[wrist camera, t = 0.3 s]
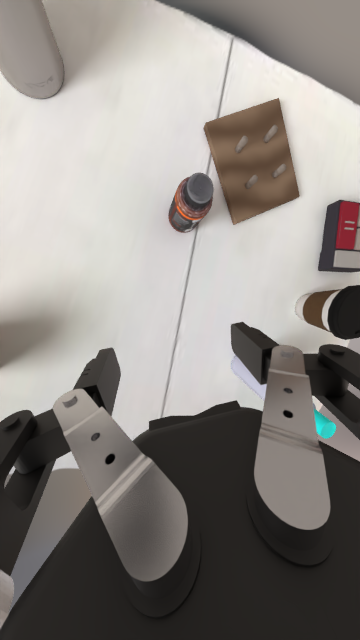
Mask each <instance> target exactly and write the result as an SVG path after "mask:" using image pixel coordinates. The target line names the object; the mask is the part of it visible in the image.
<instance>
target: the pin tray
mask: <svg viewBox="0 0 360 640" xmlns="http://www.w3.org/2000/svg"><path fill="white" fill-rule="evenodd" d="M204 131H205V134H206V137H207V141H208V144H209V147H210V150H211V154H212V157H213V160H214V163H215V166H216V170H217V173H218V176H219V179H220V183H221V186H222V189H223V192H224V196H225V199H226V202H227V205H228V209H229V212H230V215H231V218H232V221H233V225H234V224H237V223H239V222H241V221H244V220H246V219H249V218H251V217H253V216H256V215H258V214H260V213H263V212H265V211H268V210H270V209H272V208H275V207H277V206H279V205H282V204H284V203H287V202H289V201H291V200H294V199H296V198H298V197H299V191H298V186H297V182H296V177H295V172H294V167H293V163H292V158H291V153H290V149H289V144H288V139H287V134H286V130H285V125H284V120H283V116H282V111H281V106H280V101H279V98H277V99H274V100H271V101H268V102H266V103H263V104H260V105H257V106H254V107H251V108H248V109H245V110H242V111H239V112H236V113H233V114H230V115H227V116H224V117H221V118H218V119H215V120H213V121H210V122H207V123H206V124H205V126H204Z"/></svg>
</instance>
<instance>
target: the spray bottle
mask: <svg viewBox="0 0 360 640" xmlns="http://www.w3.org/2000/svg"><path fill="white" fill-rule="evenodd" d="M231 368H232V371H233V373H234V374H235V375H237V376H238V377H239V378H240V379H241V380H242V381H243V382H244V383H245V384H246V385H247V386H248V387H249V388H250V389H252V390H253V391H254V392H255V393H256V394H257V395H258V396H259V397H260V398H261V399H262V400H263V401H265V394H266V386H267V384H264V385H260V384H259V383H258V381H257V380H256V379H255V378H254V376H253V375H252V374H251V373H250V372H249V370H248V369H247V368H246V367H245V365H244V364H243V363H242V362H241V361H240V359H239V358H238V357H237V356H235V357H234V359H233V360H232V363H231ZM313 408H314V415H315V422H316V430H317V433H318V434H319V435H320V436H322V437H323V438H330V437H331V436H332V435H333V434H334V432H335V430H336V425H335V424H334V423H333V422H332V421H330V420H329V419H328V418H326V417H325V416H323V415H322V414H321V413H319V412H318V411H317V410H316V407H315V405H314V403H313Z"/></svg>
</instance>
